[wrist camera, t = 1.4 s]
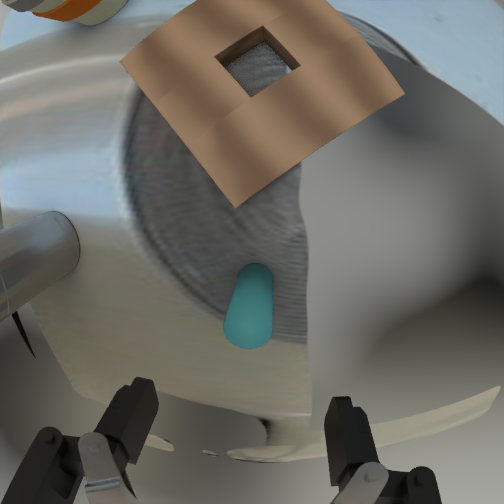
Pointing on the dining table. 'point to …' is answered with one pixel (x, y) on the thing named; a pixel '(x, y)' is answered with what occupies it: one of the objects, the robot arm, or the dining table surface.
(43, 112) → the dining table surface
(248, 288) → the peg
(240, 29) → the socket block
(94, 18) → the reusable coffee cup
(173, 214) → the dining table surface
